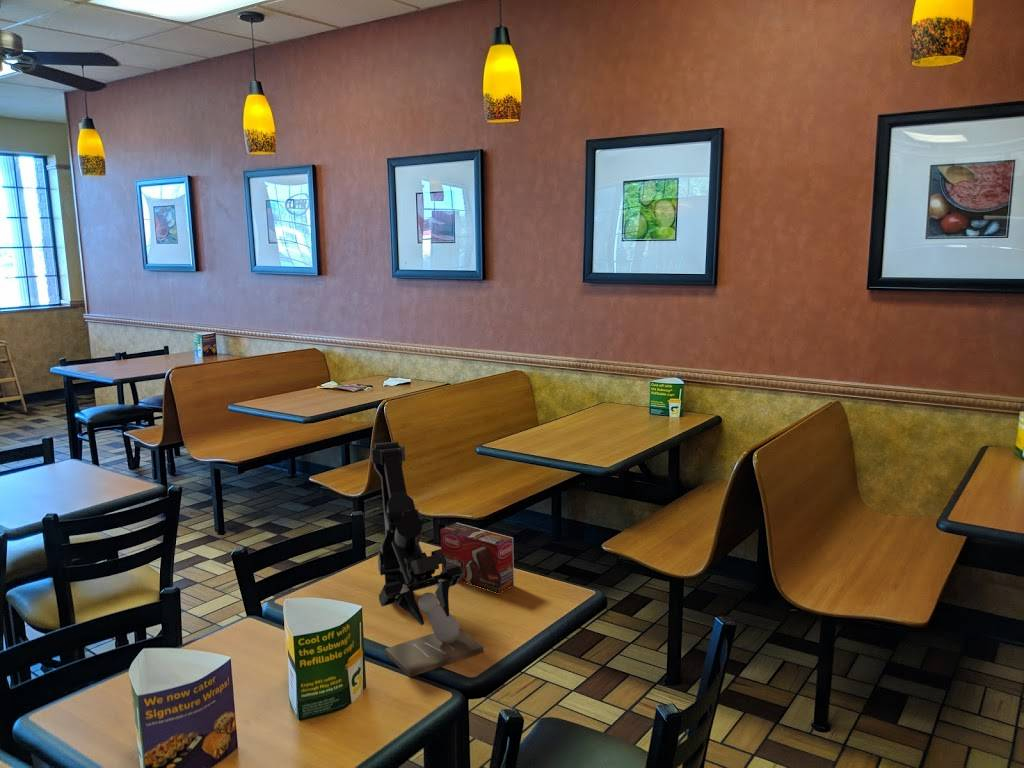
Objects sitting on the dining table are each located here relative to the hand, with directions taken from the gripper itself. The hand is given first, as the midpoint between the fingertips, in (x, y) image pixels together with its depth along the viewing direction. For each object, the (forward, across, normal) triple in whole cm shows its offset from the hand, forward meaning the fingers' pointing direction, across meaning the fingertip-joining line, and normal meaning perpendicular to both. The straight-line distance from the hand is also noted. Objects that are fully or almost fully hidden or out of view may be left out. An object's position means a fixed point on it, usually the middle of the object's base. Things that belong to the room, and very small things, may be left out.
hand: (435, 620), depth 169 cm
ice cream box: (-15, +27, +27) cm, 41 cm away
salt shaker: (+3, +5, +6) cm, 8 cm away
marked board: (+5, 0, +7) cm, 9 cm away
